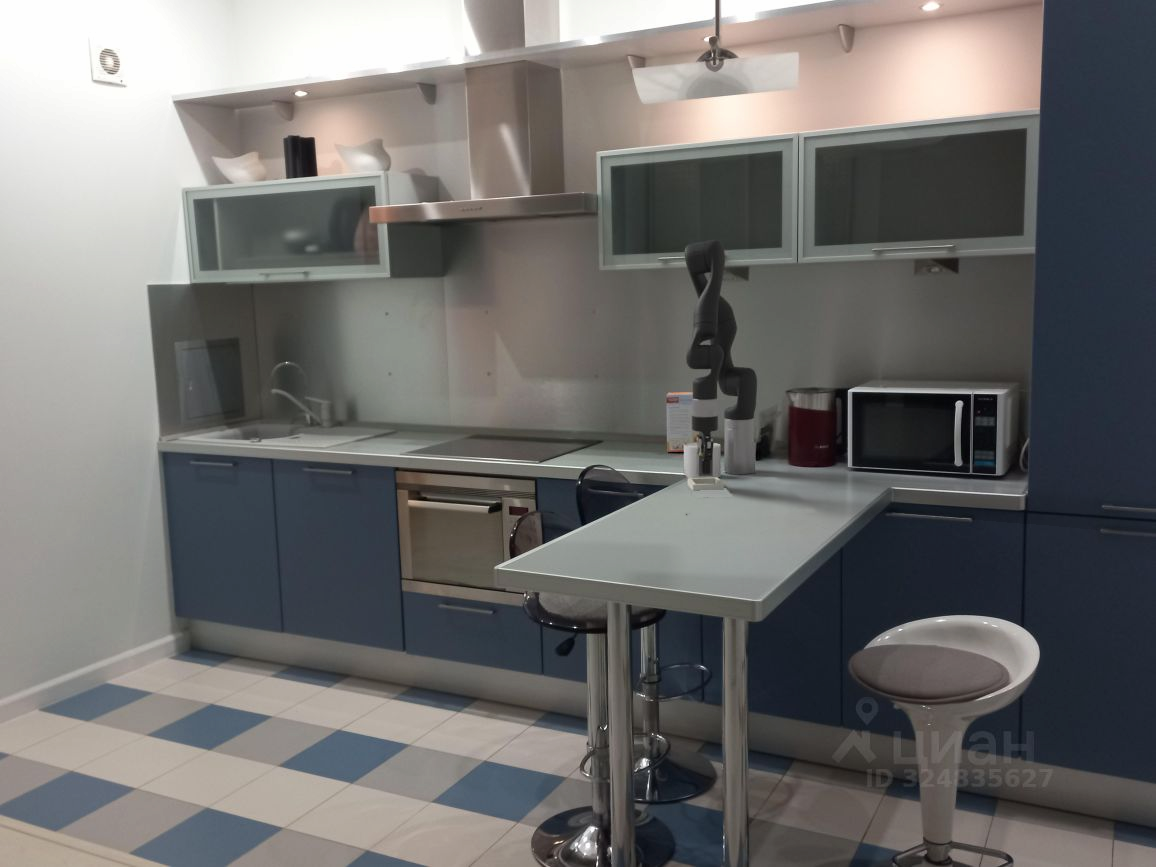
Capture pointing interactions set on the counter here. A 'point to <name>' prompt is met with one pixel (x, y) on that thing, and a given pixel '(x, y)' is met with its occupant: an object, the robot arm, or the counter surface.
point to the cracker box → (679, 421)
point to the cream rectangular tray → (705, 484)
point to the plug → (699, 465)
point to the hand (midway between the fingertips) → (704, 472)
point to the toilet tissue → (691, 461)
